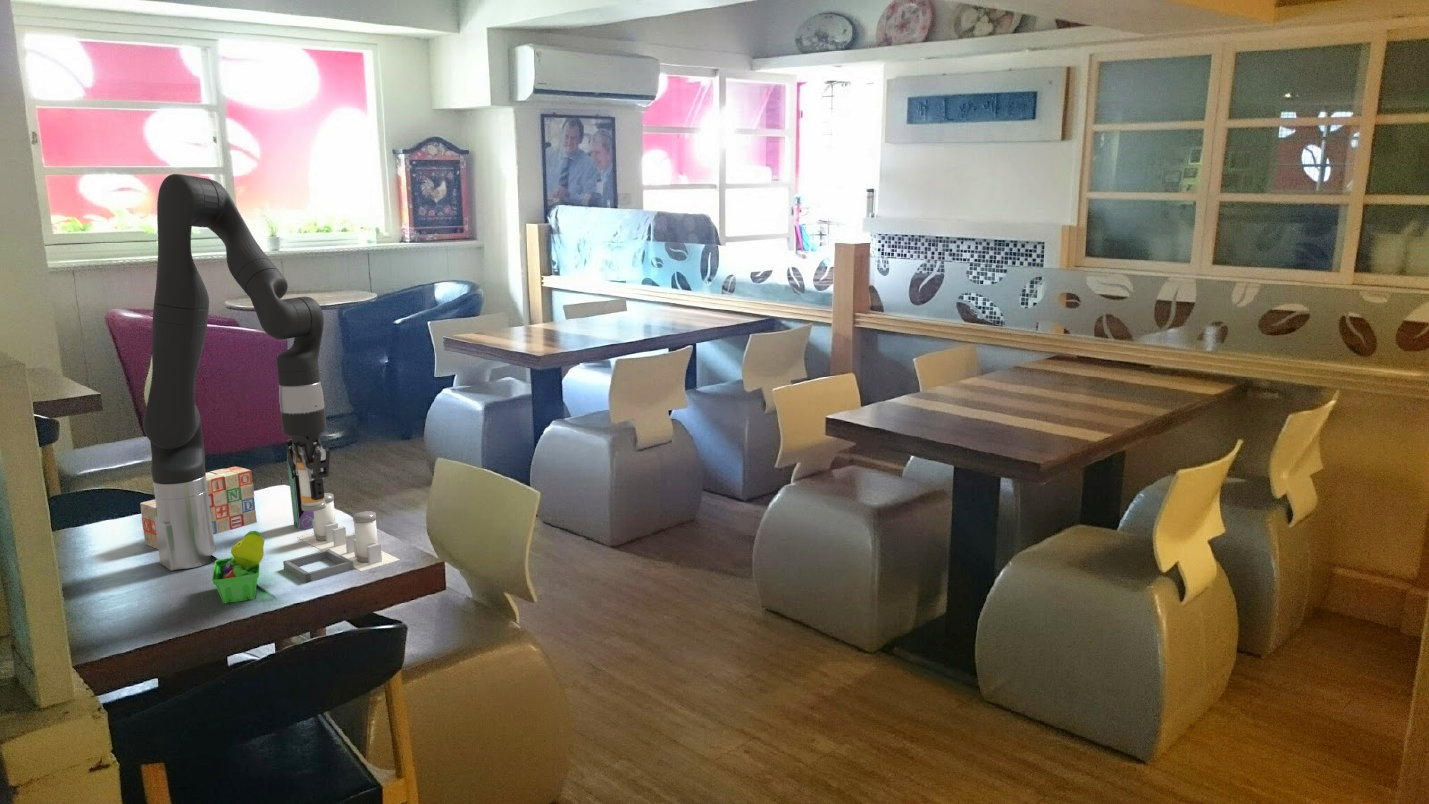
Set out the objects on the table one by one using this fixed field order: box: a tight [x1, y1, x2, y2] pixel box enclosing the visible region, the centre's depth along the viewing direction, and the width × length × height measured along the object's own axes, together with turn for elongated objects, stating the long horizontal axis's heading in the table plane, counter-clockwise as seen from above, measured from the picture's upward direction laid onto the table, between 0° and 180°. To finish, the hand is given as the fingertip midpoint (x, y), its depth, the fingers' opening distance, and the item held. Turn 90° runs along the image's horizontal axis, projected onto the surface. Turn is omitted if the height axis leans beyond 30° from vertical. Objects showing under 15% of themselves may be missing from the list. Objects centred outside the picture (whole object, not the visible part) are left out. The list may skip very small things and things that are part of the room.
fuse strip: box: [297, 519, 401, 572], centre depth 204 cm, size 8×28×5 cm, turn 45°
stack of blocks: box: [139, 466, 258, 550], centre depth 218 cm, size 21×6×12 cm, turn 144°
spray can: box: [286, 453, 314, 530], centre depth 217 cm, size 6×6×20 cm
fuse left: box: [313, 492, 337, 541], centre depth 210 cm, size 4×4×9 cm
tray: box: [282, 549, 355, 583], centre depth 194 cm, size 9×10×3 cm
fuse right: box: [352, 510, 379, 563], centre depth 197 cm, size 4×4×9 cm
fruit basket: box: [211, 530, 265, 604], centre depth 186 cm, size 11×9×11 cm
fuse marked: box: [297, 460, 326, 511], centre depth 190 cm, size 4×4×9 cm
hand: (312, 496), depth 191 cm, fingers closed on fuse marked, 4 cm apart
